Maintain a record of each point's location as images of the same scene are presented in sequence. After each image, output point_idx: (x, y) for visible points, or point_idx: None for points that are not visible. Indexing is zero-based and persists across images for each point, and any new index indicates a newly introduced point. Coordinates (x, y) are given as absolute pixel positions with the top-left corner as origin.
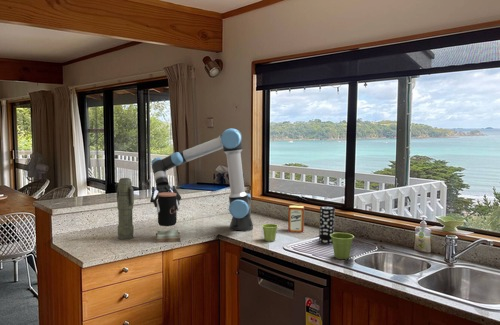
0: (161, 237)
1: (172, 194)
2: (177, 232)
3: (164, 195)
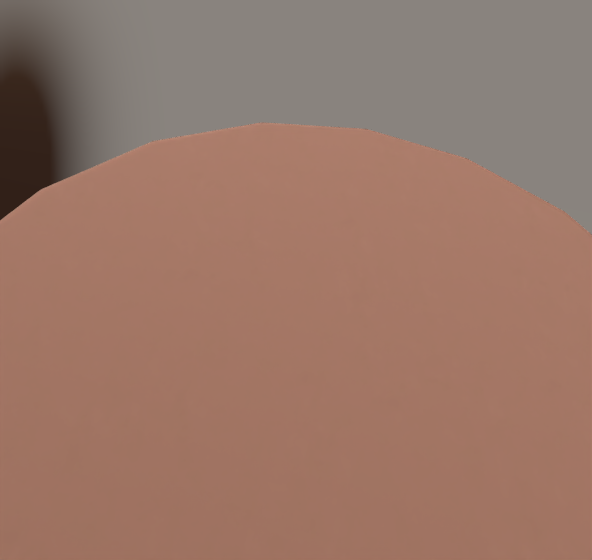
0: None
1: (214, 168)
2: None
3: (523, 199)
